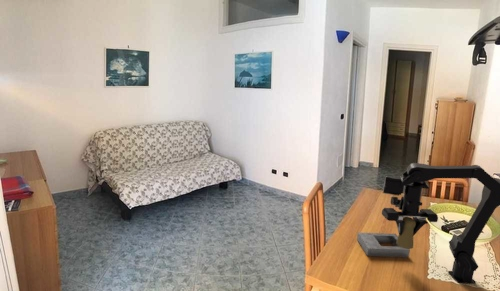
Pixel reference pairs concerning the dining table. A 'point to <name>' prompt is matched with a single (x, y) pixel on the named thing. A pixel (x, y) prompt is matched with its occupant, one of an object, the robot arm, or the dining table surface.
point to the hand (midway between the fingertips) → (406, 235)
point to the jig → (375, 249)
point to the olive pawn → (407, 234)
